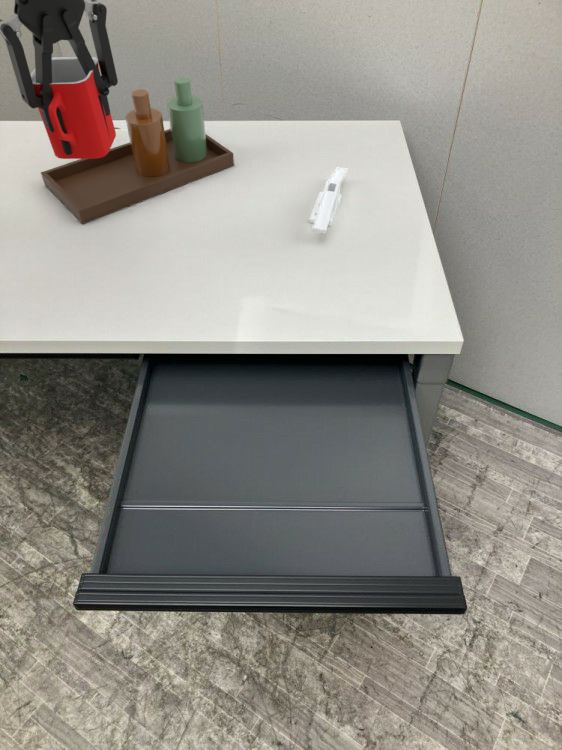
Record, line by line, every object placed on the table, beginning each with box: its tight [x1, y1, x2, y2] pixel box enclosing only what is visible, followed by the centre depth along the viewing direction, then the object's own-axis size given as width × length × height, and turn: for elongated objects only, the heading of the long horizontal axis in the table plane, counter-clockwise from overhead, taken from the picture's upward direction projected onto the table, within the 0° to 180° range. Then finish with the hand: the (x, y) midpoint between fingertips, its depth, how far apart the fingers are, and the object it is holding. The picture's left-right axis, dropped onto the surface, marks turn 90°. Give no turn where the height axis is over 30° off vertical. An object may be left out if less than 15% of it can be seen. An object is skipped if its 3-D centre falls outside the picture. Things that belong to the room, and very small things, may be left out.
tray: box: [40, 128, 235, 225], centre depth 110 cm, size 32×16×3 cm, turn 128°
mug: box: [30, 56, 117, 160], centre depth 81 cm, size 12×8×11 cm
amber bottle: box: [124, 89, 170, 177], centre depth 106 cm, size 6×6×14 cm
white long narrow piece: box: [308, 166, 349, 235], centre depth 102 cm, size 4×20×5 cm, turn 165°
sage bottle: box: [166, 76, 207, 162], centre depth 110 cm, size 6×6×14 cm
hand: (85, 144), depth 85 cm, fingers open, 5 cm apart
